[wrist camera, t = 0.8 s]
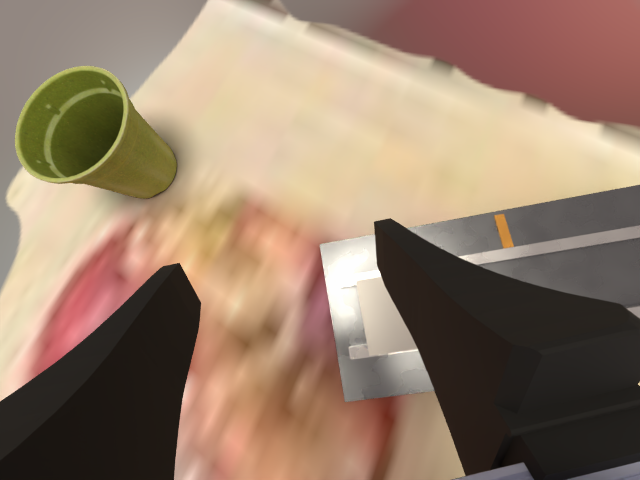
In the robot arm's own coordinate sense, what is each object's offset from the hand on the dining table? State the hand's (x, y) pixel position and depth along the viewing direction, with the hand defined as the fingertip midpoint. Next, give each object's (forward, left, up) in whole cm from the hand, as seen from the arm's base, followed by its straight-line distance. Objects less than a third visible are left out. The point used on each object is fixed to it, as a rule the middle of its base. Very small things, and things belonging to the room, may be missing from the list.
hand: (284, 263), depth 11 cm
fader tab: (-3, -4, -13) cm, 14 cm away
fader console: (-3, -12, -15) cm, 19 cm away
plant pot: (+14, +16, -15) cm, 26 cm away
